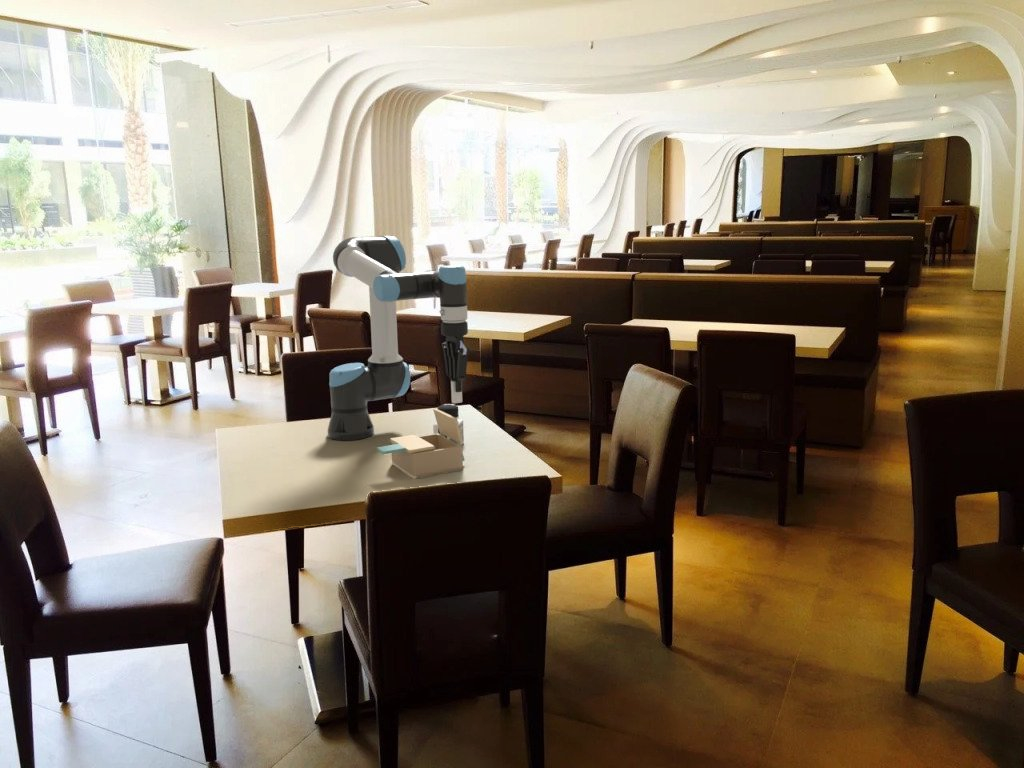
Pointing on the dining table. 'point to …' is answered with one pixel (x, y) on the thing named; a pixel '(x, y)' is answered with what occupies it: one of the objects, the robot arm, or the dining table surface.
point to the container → (453, 412)
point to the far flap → (448, 426)
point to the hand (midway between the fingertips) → (457, 402)
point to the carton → (430, 458)
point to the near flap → (406, 445)
